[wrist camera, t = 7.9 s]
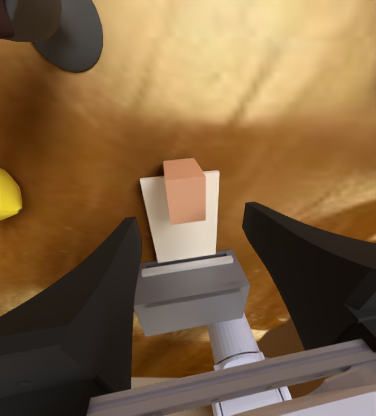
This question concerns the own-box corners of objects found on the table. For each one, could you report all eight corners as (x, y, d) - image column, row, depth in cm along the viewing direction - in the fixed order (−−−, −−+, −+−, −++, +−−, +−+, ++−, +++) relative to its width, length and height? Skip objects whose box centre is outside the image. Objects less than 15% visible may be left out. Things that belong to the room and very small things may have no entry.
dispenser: (228, 281, 30) (242, 318, 25) (148, 295, 28) (145, 336, 23) (232, 246, 25) (251, 282, 20) (137, 260, 24) (131, 302, 19)
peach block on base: (214, 251, 24) (226, 283, 20) (158, 260, 23) (157, 294, 19) (218, 155, 17) (238, 172, 12) (137, 163, 16) (129, 184, 12)
